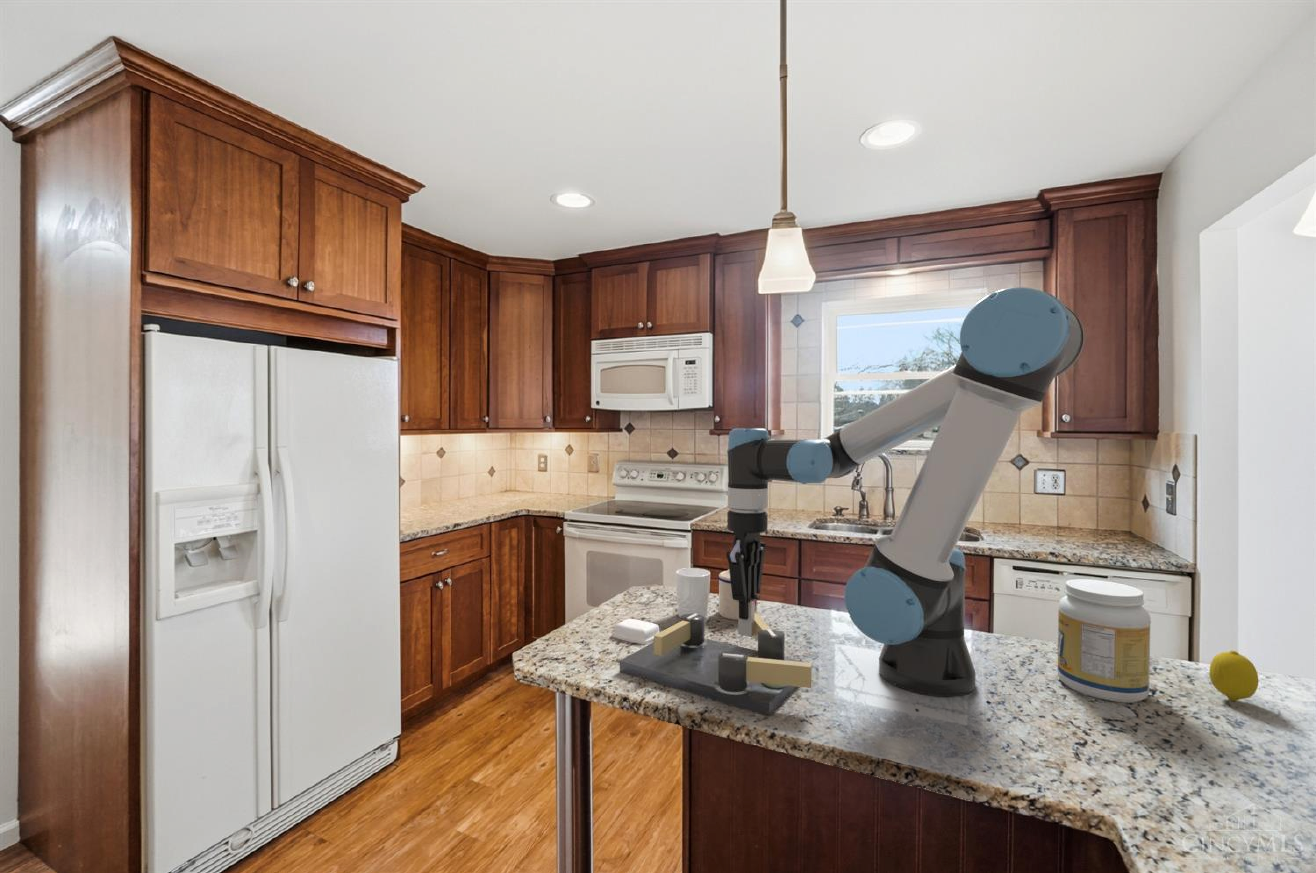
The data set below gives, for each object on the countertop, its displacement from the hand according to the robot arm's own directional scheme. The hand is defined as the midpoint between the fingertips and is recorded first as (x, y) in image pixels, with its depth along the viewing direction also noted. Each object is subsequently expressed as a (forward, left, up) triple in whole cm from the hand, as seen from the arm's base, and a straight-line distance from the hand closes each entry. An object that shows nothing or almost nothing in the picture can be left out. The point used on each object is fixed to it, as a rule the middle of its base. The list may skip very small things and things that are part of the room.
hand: (746, 634), depth 111 cm
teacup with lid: (+12, -22, -4) cm, 26 cm away
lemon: (-72, -26, -4) cm, 77 cm away
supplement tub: (-55, -20, -4) cm, 59 cm away
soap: (+23, +3, -5) cm, 24 cm away
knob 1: (+9, +10, -2) cm, 13 cm away
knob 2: (-4, +1, -2) cm, 4 cm away
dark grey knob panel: (+1, +11, -4) cm, 11 cm away
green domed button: (-11, +13, -2) cm, 17 cm away
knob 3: (-11, +16, -2) cm, 19 cm away
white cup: (+20, -14, -4) cm, 25 cm away
